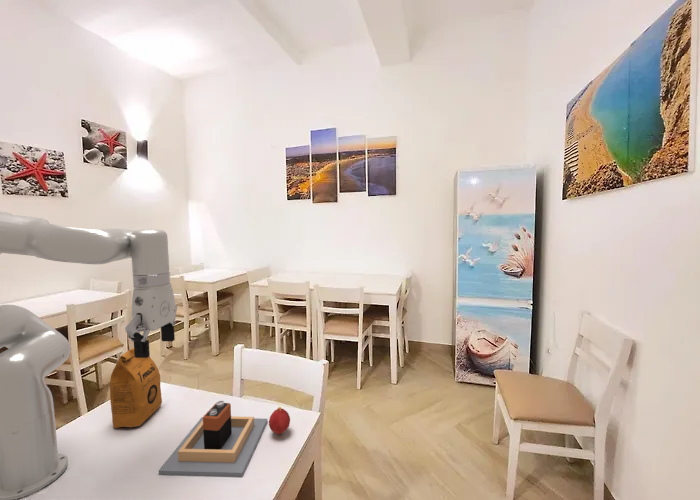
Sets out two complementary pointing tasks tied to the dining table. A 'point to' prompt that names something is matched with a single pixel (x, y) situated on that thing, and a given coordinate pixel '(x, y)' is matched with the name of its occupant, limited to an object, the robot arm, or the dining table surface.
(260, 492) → the dining table surface
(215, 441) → the battery
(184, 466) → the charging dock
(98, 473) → the dining table surface
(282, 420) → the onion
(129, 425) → the coffee package
